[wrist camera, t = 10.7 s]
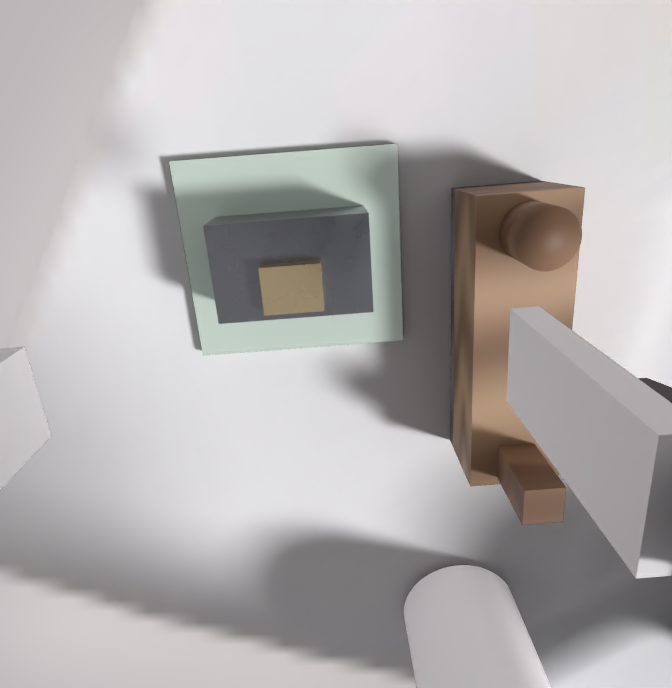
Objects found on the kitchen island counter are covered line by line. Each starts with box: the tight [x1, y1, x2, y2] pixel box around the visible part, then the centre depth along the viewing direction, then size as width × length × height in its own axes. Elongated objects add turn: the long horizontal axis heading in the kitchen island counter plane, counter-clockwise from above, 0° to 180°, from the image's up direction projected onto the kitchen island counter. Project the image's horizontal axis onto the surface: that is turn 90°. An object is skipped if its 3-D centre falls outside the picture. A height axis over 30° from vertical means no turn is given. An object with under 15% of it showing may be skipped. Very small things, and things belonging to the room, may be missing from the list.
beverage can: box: [404, 565, 552, 688], centre depth 34 cm, size 8×8×12 cm
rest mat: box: [169, 144, 403, 356], centre depth 30 cm, size 11×12×1 cm
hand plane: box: [450, 181, 585, 525], centre depth 27 cm, size 16×5×9 cm, turn 4°
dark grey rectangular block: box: [203, 205, 374, 324], centre depth 27 cm, size 5×8×4 cm, turn 94°
